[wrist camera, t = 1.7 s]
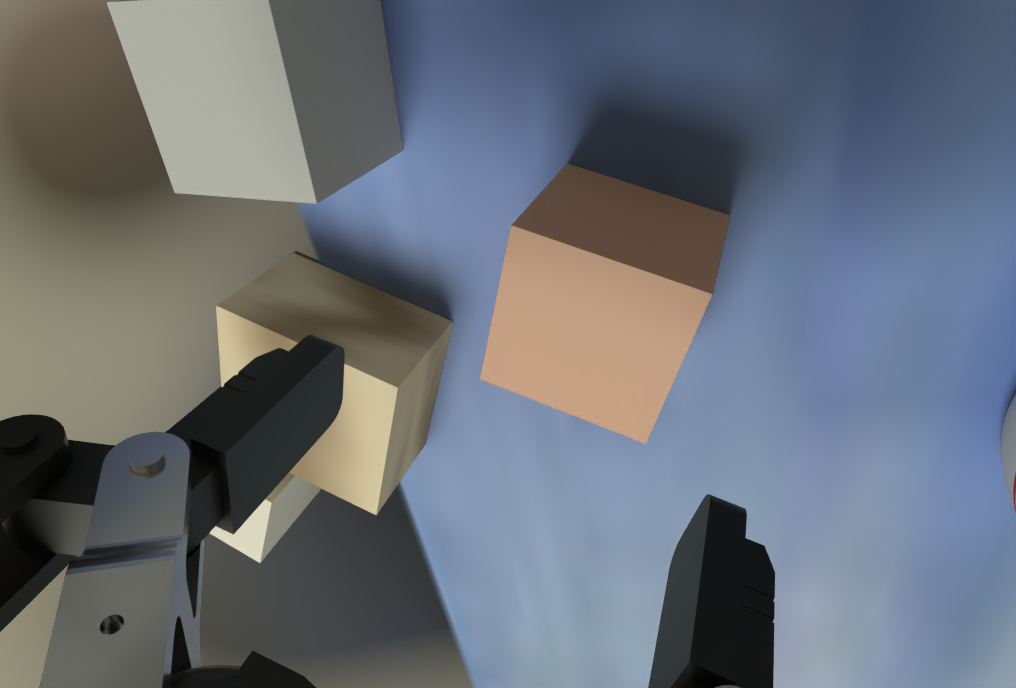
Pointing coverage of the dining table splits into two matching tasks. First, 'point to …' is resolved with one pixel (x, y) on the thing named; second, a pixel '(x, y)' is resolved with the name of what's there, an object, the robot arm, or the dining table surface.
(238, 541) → the cream cube
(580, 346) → the terracotta cube
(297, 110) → the grey cube
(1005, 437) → the fruit juice
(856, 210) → the dining table surface
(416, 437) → the beech block
